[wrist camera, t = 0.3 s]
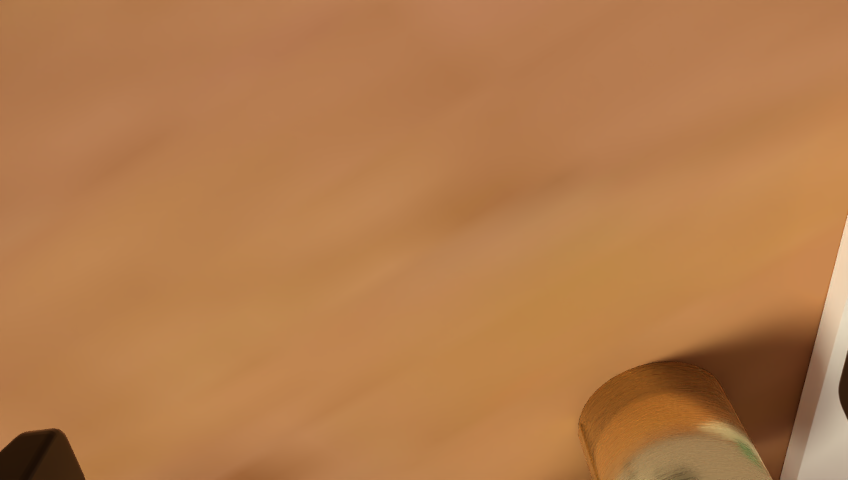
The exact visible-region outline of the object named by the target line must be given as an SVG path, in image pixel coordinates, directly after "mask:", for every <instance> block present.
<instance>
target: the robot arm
mask: <svg viewBox="0 0 848 480" xmlns="http://www.w3.org/2000/svg"><path fill="white" fill-rule="evenodd" d="M838 394H839V400H840V404H841V406H842V409H843V411H844V413H845V416H846V418H847V420H848V351H847V355H846V358H845V362H844V366H843V370H842V374H841V378H840V381H839V387H838ZM0 480H85V477H84V474H83V472H82V470H81V468H80V465H79V463H78V461H77V459H76V457H75V454H74V452H73V450H72V448H71V446H70V443H69V441H68V439H67V437H66V435H65V434H64V433H63V432H62V431H61V430H59V429H55V428H52V429H44V430H36V431H28V432H24V433H22V434H20V435H18V436H17V437H16V438H15V439H13V440H12V441H11V442H10V443H9V444H8V445H7V446H6V447H5V448H4V449H3V450H2V451H0Z"/></svg>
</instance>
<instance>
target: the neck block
mask: <svg viewBox="0 0 848 480" xmlns="http://www.w3.org/2000/svg"><path fill="white" fill-rule="evenodd" d="M847 351H848V216H847V220H846V224H845V228H844V232H843V236H842V240H841V243H840V247H839V251H838V255H837V259H836V263H835V267H834V271H833V275H832V278H831V282H830V286H829V290H828V294H827V298H826V302H825V306H824V310H823V313H822V317H821V321H820V325H819V329H818V333H817V337H816V341H815V345H814V348H813V352H812V356H811V360H810V364H809V368H808V372H807V376H806V380H805V384H804V387H803V391H802V395H801V399H800V403H799V407H798V411H797V415H796V419H795V422H794V426H793V430H792V434H791V438H790V442H789V446H788V450H787V454H786V457H785V461H784V465H783V469H782V473H781V477H780V480H848V420H847V418H846V416H845V413H844V411H843V409H842V406H841V404H840V400H839V394H838V387H839V381H840V378H841V374H842V370H843V366H844V362H845V358H846V355H847Z"/></svg>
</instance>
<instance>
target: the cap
mask: <svg viewBox="0 0 848 480" xmlns="http://www.w3.org/2000/svg"><path fill="white" fill-rule="evenodd" d="M578 436H579V439H580V442H581V446H582V449H583V452H584V455H585V458H586V461H587V464H588V467H589V471H590V474H591V477H592V480H773V479H772V478H771V476H770V474H769V472H768V470H767V469H766V467H765V465H764V463H763V461H762V460H761V458H760V456H759V454H758V452H757V450H756V449H755V447H754V445H753V443H752V441H751V440H750V438H749V436H748V434H747V432H746V430H745V429H744V427H743V425H742V423H741V421H740V420H739V418H738V416H737V414H736V412H735V411H734V409H733V407H732V405H731V403H730V401H729V400H728V398H727V396H726V394H725V392H724V391H723V389H722V387H721V385H720V383H719V382H718V381H717V380H716V378H715V377H714V376H712V375H711V374H710V373H709V372H707V371H706V370H704V369H702V368H700V367H697V366H695V365H691V364H687V363H681V362H657V363H650V364H646V365H642V366H638V367H635V368H632V369H630V370H627V371H625V372H623V373H621V374H619V375H617V376H615V377H614V378H612V379H610V380H609V381H607V382H606V383H605V384H603V385H602V386H601V387H600V388H599V389H598V390H597V391H595V393H594V394H593V395H592V396H591V397H590V398H589V400H588V401H587V403H586V404H585V406H584V408H583V410H582V413H581V416H580V419H579V426H578Z"/></svg>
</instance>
